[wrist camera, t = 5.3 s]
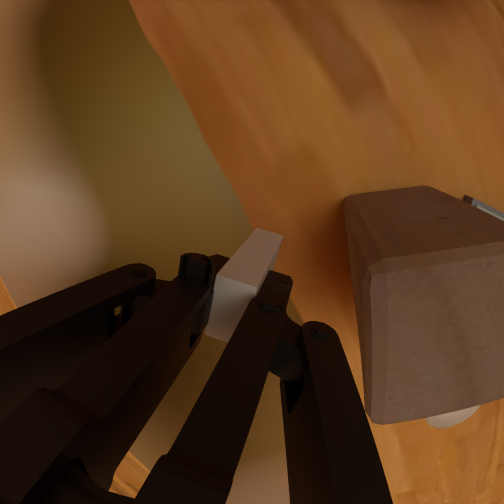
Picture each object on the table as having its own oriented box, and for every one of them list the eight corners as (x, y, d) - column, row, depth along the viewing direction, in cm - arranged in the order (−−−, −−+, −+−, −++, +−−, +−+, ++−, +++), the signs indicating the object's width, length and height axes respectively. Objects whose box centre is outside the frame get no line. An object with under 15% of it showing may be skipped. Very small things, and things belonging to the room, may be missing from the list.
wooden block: (432, 183, 27) (554, 240, 9) (436, 274, 30) (516, 399, 11) (340, 195, 30) (362, 270, 12) (351, 286, 33) (365, 433, 14)
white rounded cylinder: (404, 374, 35) (414, 424, 26) (429, 332, 32) (449, 380, 24) (443, 383, 34) (459, 429, 26) (470, 343, 31) (493, 388, 23)
